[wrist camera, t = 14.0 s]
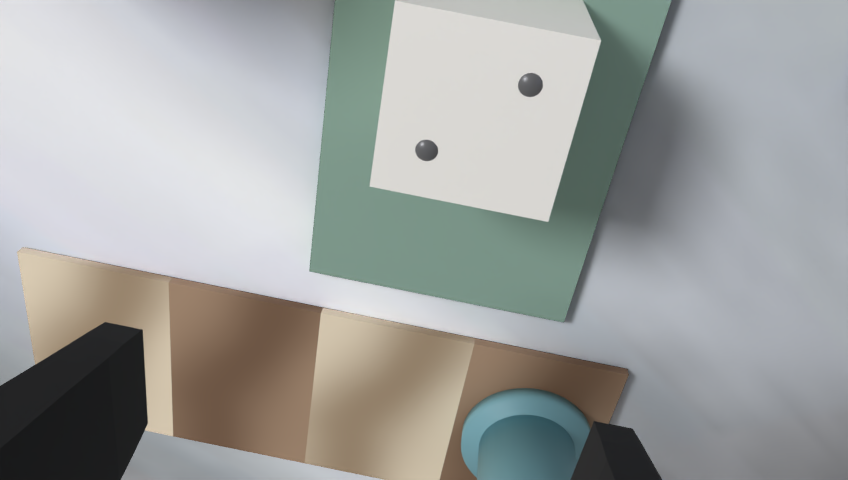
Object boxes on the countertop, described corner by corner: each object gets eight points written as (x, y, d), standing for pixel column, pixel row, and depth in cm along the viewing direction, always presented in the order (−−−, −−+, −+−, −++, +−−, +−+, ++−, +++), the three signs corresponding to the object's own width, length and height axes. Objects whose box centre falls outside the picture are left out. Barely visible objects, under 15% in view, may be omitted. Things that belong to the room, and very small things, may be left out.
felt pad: (673, -17, 16) (676, -15, 16) (563, 316, 22) (563, 322, 21) (344, -80, 17) (342, -79, 16) (311, 266, 22) (309, 271, 21)
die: (586, 0, 17) (607, 42, 13) (544, 156, 19) (551, 229, 15) (419, -32, 17) (394, 1, 13) (395, 127, 19) (367, 192, 15)
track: (627, 369, 22) (628, 375, 22) (568, 510, 26) (569, 517, 26) (22, 247, 23) (17, 251, 22) (47, 403, 26) (42, 409, 26)
